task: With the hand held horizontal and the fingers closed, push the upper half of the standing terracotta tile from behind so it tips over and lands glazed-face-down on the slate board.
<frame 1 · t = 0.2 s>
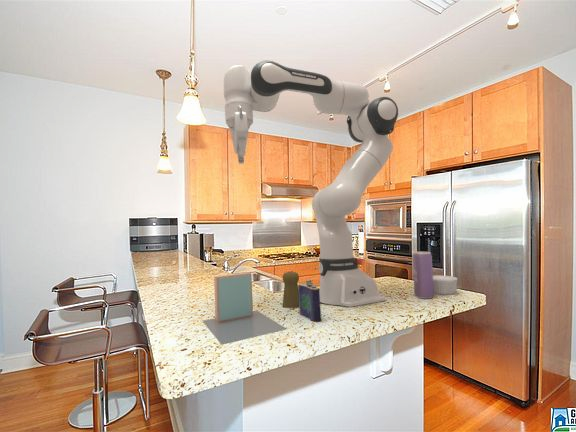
hand: (241, 159, 90), 47 cm above the countertop, tool pointing down, fingers open, 8 cm apart
slate board: (242, 326, 72), on the countertop
flask: (310, 320, 76), on the countertop
beverage can: (424, 297, 94), on the countertop
ramekin: (440, 292, 100), on the countertop
tile: (234, 318, 77), point 1 cm above the countertop, touching slate board
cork: (291, 308, 88), on the countertop
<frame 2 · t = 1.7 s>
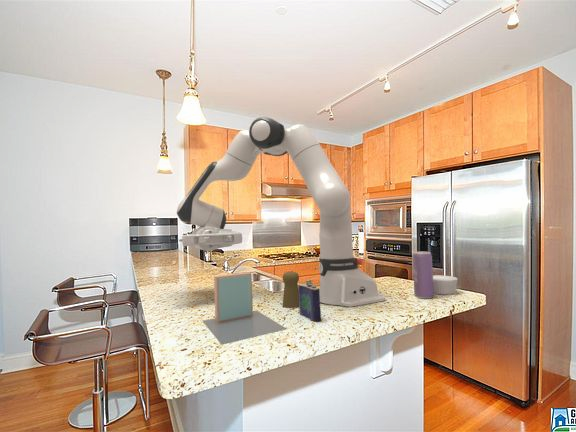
hand: (218, 239, 91), 22 cm above the countertop, tool horizontal, fingers open, 6 cm apart
nothing on the countertop moved.
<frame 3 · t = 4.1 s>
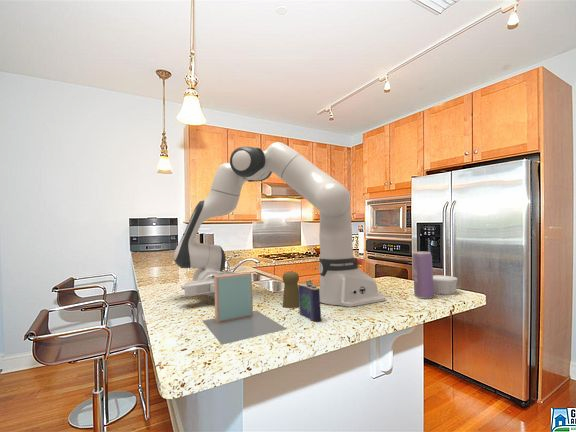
hand: (221, 289, 89), 6 cm above the countertop, tool horizontal, fingers closed
nothing on the countertop moved.
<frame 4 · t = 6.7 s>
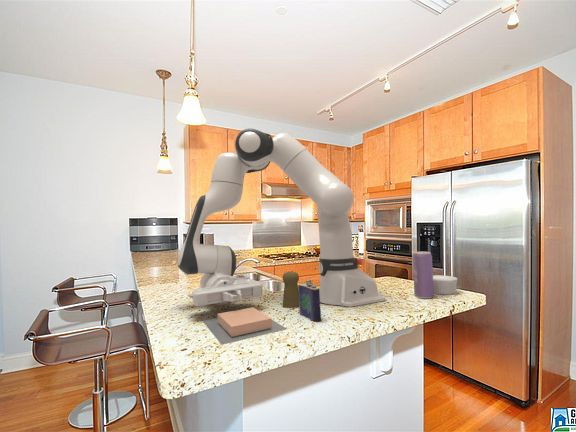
hand: (236, 298, 76), 6 cm above the countertop, tool horizontal, fingers closed
tile: (235, 314, 76), point 2 cm above the countertop, tilted 90°, touching slate board
everything else where it was.
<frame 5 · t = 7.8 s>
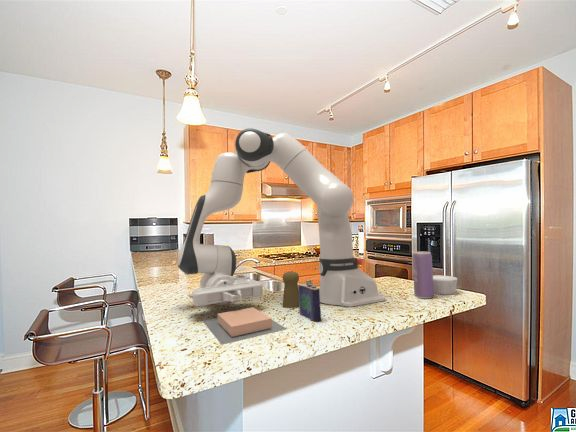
hand: (236, 298, 75), 7 cm above the countertop, tool horizontal, fingers closed
nothing on the countertop moved.
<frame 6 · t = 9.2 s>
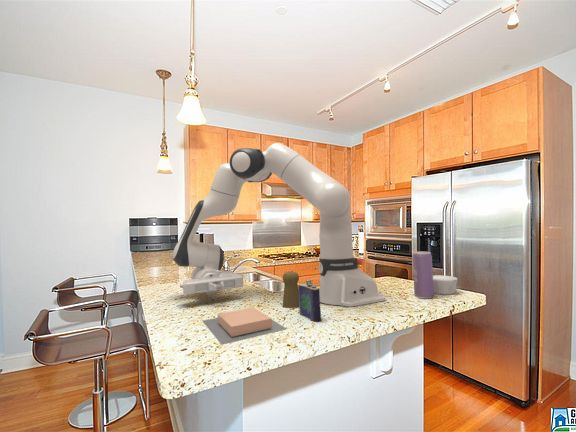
hand: (219, 287, 90), 7 cm above the countertop, tool horizontal, fingers closed
nothing on the countertop moved.
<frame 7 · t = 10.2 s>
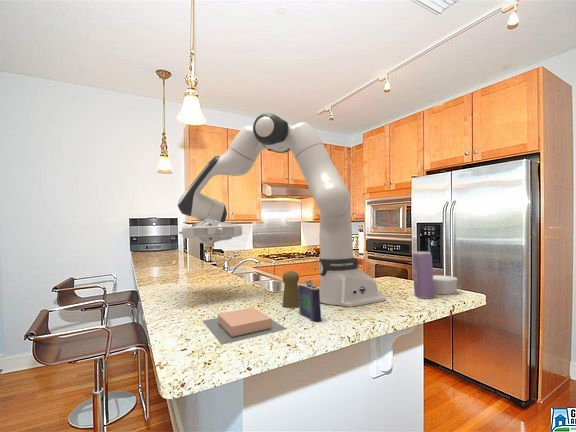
hand: (218, 231, 91), 25 cm above the countertop, tool horizontal, fingers closed
nothing on the countertop moved.
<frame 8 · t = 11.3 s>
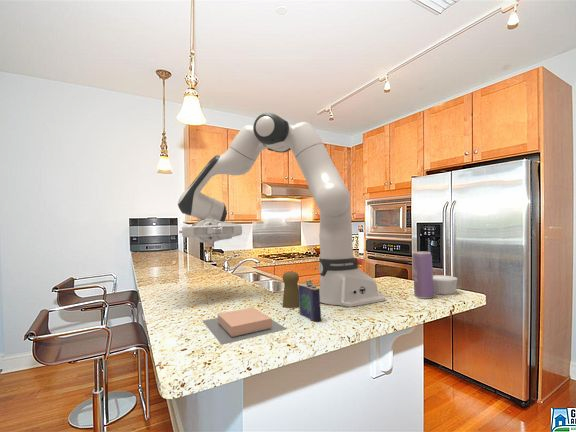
hand: (218, 230, 91), 25 cm above the countertop, tool horizontal, fingers closed
nothing on the countertop moved.
at the end: tile tilted 90°; tile inside the target area (4.7 cm from its centre), point 2.0 cm above the countertop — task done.
